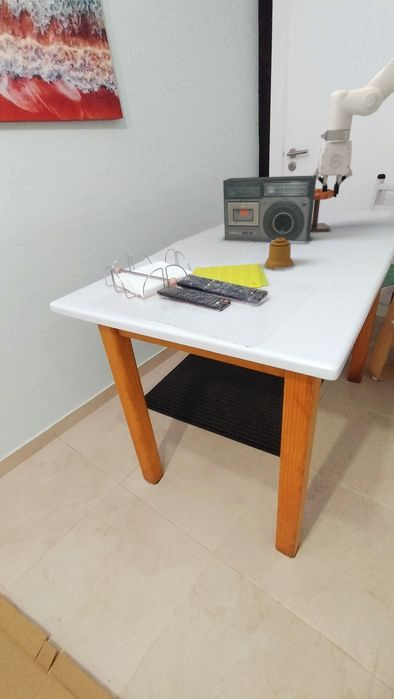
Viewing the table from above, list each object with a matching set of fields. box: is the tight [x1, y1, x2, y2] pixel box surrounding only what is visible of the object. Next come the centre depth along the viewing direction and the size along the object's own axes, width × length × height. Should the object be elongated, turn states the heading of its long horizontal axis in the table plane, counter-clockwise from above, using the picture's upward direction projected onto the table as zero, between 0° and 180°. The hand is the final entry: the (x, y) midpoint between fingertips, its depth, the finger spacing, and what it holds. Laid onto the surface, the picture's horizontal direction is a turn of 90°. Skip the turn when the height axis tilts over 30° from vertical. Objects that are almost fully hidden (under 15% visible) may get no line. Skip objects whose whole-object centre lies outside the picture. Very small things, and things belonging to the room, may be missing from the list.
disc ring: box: [314, 188, 335, 201], centre depth 121 cm, size 11×11×2 cm
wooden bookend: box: [311, 200, 330, 233], centre depth 124 cm, size 9×9×12 cm
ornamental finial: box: [265, 238, 294, 270], centre depth 94 cm, size 8×8×8 cm
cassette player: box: [222, 175, 317, 243], centre depth 115 cm, size 29×7×20 cm, turn 65°
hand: (329, 196), depth 121 cm, fingers closed on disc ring, 2 cm apart
